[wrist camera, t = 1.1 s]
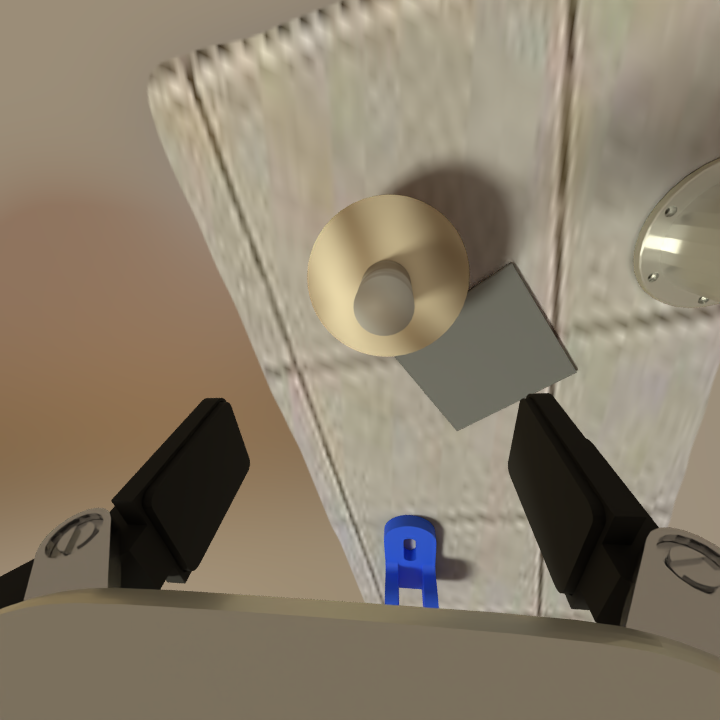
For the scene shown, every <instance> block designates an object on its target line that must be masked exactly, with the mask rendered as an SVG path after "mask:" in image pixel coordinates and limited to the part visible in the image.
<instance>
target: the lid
mask: <svg viewBox="0 0 720 720" xmlns="http://www.w3.org/2000/svg"><path fill="white" fill-rule="evenodd" d="M469 276H470V272H469V262H468V257H467V252H466V249H465V247H464V244H463V241H462V239H461V238H460V236H459V234H458V232H457V231H456V229H455V228H454V227H453V225H452V224H451V223H450V221H449V220H448V219H447V218H446V217H445V216H444V215H443V214H441V213H440V212H439V211H437V210H436V209H435V208H433V207H432V206H430V205H428V204H426V203H424V202H422V201H420V200H417V199H414V198H411V197H407V196H401V195H379V196H373V197H369V198H366V199H362V200H360V201H358V202H355V203H353V204H351V205H349V206H348V207H346V208H344V209H343V210H341V211H340V212H339V213H338V214H337V215H335V216H334V217H333V218H332V219H331V220H330V221H329V222H328V223H327V225H326V226H325V227H324V228H323V230H322V231H321V233H320V234H319V236H318V238H317V240H316V242H315V244H314V246H313V249H312V252H311V254H310V259H309V264H308V273H307V280H308V290H309V295H310V299H311V302H312V305H313V308H314V310H315V312H316V314H317V316H318V317H319V319H320V321H321V322H322V324H323V325H324V326H325V327H326V329H327V330H328V331H329V332H330V333H331V334H332V335H333V336H334V337H335V338H337V339H338V340H339V341H340V342H342V343H343V344H345V345H347V346H348V347H350V348H352V349H354V350H357V351H359V352H362V353H365V354H369V355H375V356H385V357H387V356H399V355H405V354H409V353H412V352H415V351H418V350H420V349H423V348H424V347H426V346H428V345H430V344H432V343H433V342H434V341H436V340H437V339H438V338H440V337H441V336H442V335H443V334H444V333H445V332H446V331H447V330H448V329H449V328H450V327H451V325H452V324H453V323H454V321H455V320H456V318H457V317H458V315H459V313H460V311H461V309H462V307H463V305H464V302H465V299H466V296H467V292H468V287H469Z"/></svg>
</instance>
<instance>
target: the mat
mask: <svg viewBox="0 0 720 720" xmlns="http://www.w3.org/2000/svg"><path fill="white" fill-rule="evenodd" d="M394 357H395V358H396V359H397V360H398V361H399V363H400V364H401V365H402V366H403V367H404V369H405V370H406V371H407V372H408V373H409V375H410V376H411V377H412V378H413V379H414V381H415V382H416V383H417V384H418V385H419V386H420V388H421V389H422V390H423V391H424V392H425V394H426V395H427V396H428V397H429V398H430V400H431V401H432V402H433V403H434V404H435V406H436V407H437V408H438V409H439V410H440V411H441V413H442V414H443V415H444V416H445V417H446V419H447V420H448V421H449V422H450V423H451V425H452V426H453V427H454V428H455V429H456V431H458V430H460V429H463V428H465V427H467V426H469V425H471V424H473V423H475V422H477V421H479V420H481V419H483V418H485V417H487V416H489V415H491V414H493V413H495V412H497V411H499V410H501V409H503V408H505V407H507V406H509V405H511V404H513V403H515V402H517V401H520V400H521V399H523V398H526V396H527V395H528V394H534V393H536V392H538V391H540V390H542V389H544V388H546V387H548V386H550V385H552V384H554V383H556V382H558V381H560V380H562V379H564V378H566V377H568V376H570V375H572V374H575V373H577V372H576V370H575V369H574V367H573V365H572V364H571V362H570V360H569V359H568V357H567V355H566V353H565V352H564V350H563V348H562V347H561V345H560V343H559V342H558V340H557V338H556V337H555V335H554V333H553V332H552V330H551V328H550V327H549V325H548V323H547V322H546V320H545V318H544V317H543V315H542V313H541V311H540V310H539V308H538V306H537V305H536V303H535V301H534V300H533V298H532V296H531V295H530V293H529V291H528V290H527V288H526V286H525V285H524V283H523V281H522V280H521V278H520V276H519V275H518V273H517V271H516V269H515V268H514V266H513V264H512V263H509V264H508V265H506V266H505V267H503V268H502V269H500V270H499V271H497V272H496V273H494V274H493V275H491V276H490V277H488V278H487V279H485V280H484V281H482V282H481V283H479V284H478V285H476V286H475V287H473V288H472V289H470V290H469V291H468V292H467V296H466V299H465V302H464V305H463V307H462V309H461V311H460V313H459V315H458V317H457V318H456V320H455V321H454V323H453V324H452V325H451V327H450V328H449V329H448V330H447V331H446V332H445V333H444V334H443V335H442V336H441V337H440V338H438V339H437V340H436V341H434V342H433V343H432V344H430V345H428V346H426V347H424V348H423V349H420V350H418V351H415V352H412V353H409V354H405V355H399V356H394Z"/></svg>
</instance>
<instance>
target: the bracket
mask: <svg viewBox="0 0 720 720" xmlns="http://www.w3.org/2000/svg"><path fill="white" fill-rule="evenodd" d="M405 539H414V540H415V541H416V548H415V549H412V550H408V549H406V548H404V540H405ZM384 547H385V560H386V579H385V604H386V605H399V588H412V589H422V597H423V607H427V608H439V606H438V593H437V583H436V573H435V560H436V535H435V529H434V527H433V525H432V524H431V523H430V522H429V521H427V520H426V519H424V518H421V517H418V516H413V515H402V516H398V517H395V518H392V519H391V520H389V521H388V522H387V523H386V525H385V529H384Z"/></svg>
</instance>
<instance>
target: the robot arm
mask: <svg viewBox="0 0 720 720" xmlns="http://www.w3.org/2000/svg"><path fill="white" fill-rule="evenodd" d="M633 264H634V273H635V276H636V278H637V281H638V283H639V285H640V286H641V287H642V289H643V290H644V291H645V292H646V293H647V294H648V295H650V296H651V297H652V298H654V299H656V300H658V301H661V302H663V303H665V304H668V305H672V306H675V307H683V308H700V307H706V306H711V305H716V304H720V158H719V159H717V160H715V161H712V162H710V163H708V164H706V165H704V166H702V167H701V168H699V169H698V170H696V171H695V172H693V173H691V174H690V175H688V176H687V177H686V178H684V179H683V180H682V181H681V182H679V183H678V184H677V185H676V186H675V187H673V188H672V189H671V190H670V191H669V192H668V193H667V194H666V195H665V196H664V198H663V199H662V200H661V201H660V202H659V203H658V204H657V205H656V207H655V208H654V210H653V211H652V212H651V214H650V215H649V216H648V218H647V220H646V222H645V223H644V225H643V227H642V229H641V231H640V233H639V236H638V239H637V242H636V245H635V250H634V258H633ZM249 466H250V460H249V456H248V453H247V451H246V448H245V445H244V442H243V439H242V436H241V433H240V430H239V428H238V424H237V422H236V419H235V416H234V413H233V410H232V407H231V405H230V403H228V402H226V400H225V399H223V398H206V399H204V400H203V401H202V402H201V403H200V404H199V405H198V406H197V407H196V408H195V409H194V411H193V412H192V413H191V414H190V415H189V416H188V417H187V418H186V419H185V420H184V421H183V423H181V425H180V426H179V427H178V428H177V429H176V430H175V431H174V432H173V433H172V434H171V436H170V437H169V438H168V439H167V440H166V441H165V442H164V443H163V444H162V445H161V447H160V448H159V449H158V450H157V451H156V452H155V453H154V454H153V455H152V456H151V457H150V459H149V460H148V461H147V462H146V463H145V464H144V465H143V466H142V467H141V468H140V470H139V471H138V472H137V473H136V474H135V475H134V476H133V477H132V478H131V479H130V480H129V481H128V483H127V484H126V485H125V486H124V487H123V488H122V489H121V490H120V491H119V492H118V494H117V495H116V496H115V497H114V498H113V499H112V503H113V504H114V505H115V507H114V508H113V509H112V510H111V511H110V512H109V511H108V510H106V509H104V508H94V509H89V510H86V511H83V512H80V513H78V514H76V515H74V516H72V517H70V518H68V519H67V520H65V521H64V522H63V523H61V524H60V525H58V526H57V527H56V528H55V529H54V530H52V531H51V532H50V533H49V534H48V535H47V536H46V538H45V539H44V540H43V541H42V543H41V544H40V546H39V548H38V550H37V552H36V555H35V559H33V560H31V561H29V562H27V563H25V564H23V565H21V566H20V567H18V568H16V569H14V570H12V571H10V572H8V573H6V574H4V575H3V576H1V577H0V720H720V548H719V547H718V546H716V545H715V544H713V543H711V542H709V541H707V540H705V539H704V538H702V537H700V536H698V535H695V534H692V533H690V532H687V531H684V530H680V529H675V528H670V527H668V528H659V527H658V526H657V525H656V523H655V522H654V521H653V519H652V518H651V517H650V516H649V514H648V513H647V512H646V511H645V509H644V508H643V507H642V505H641V504H640V503H639V502H638V500H637V499H636V498H635V497H634V495H633V494H632V493H631V491H630V490H629V489H628V488H627V486H626V485H625V484H624V483H623V481H622V480H621V479H620V477H619V476H618V475H617V474H616V472H615V471H614V470H613V469H612V467H611V466H610V465H609V464H608V462H607V461H606V460H605V458H604V457H603V456H602V455H601V453H600V452H599V451H598V450H597V448H596V447H595V446H594V444H593V443H592V442H591V441H590V440H588V439H586V438H585V437H584V436H583V434H582V433H581V432H580V430H579V429H578V428H577V427H576V425H575V424H574V423H573V421H572V420H571V419H570V417H569V416H568V415H567V414H566V412H565V411H564V410H563V408H562V407H561V406H560V405H559V403H558V402H557V401H556V399H555V398H554V397H553V396H552V395H551V394H549V393H535V394H528V395H527V396H526V398H523V399H521V400H520V404H519V409H518V414H517V419H516V424H515V430H514V435H513V440H512V445H511V450H510V455H509V461H508V470H509V474H510V477H511V479H512V482H513V484H514V487H515V489H516V492H517V494H518V496H519V499H520V501H521V504H522V506H523V509H524V511H525V514H526V516H527V518H528V521H529V523H530V526H531V528H532V531H533V533H534V536H535V538H536V541H537V543H538V545H539V548H540V550H541V553H542V555H543V558H544V560H545V563H546V565H547V568H548V570H549V572H550V575H551V577H552V580H553V582H554V585H555V587H556V589H557V590H558V592H560V593H565V595H566V597H567V600H568V602H569V605H570V607H571V609H581V610H590V612H591V614H592V616H593V618H594V620H595V622H597V623H594V622H587V621H580V620H570V619H559V618H549V617H538V616H527V615H516V614H506V613H494V612H480V611H467V610H454V609H440V608H427V607H413V606H400V605H386V604H372V603H357V602H343V601H329V600H315V599H300V598H285V597H270V596H255V595H238V594H224V593H208V592H192V591H175V590H161V587H162V585H163V584H164V582H165V580H166V581H167V582H172V583H186V581H187V579H188V577H189V575H190V573H191V572H192V571H194V570H195V569H196V568H197V567H198V566H199V564H200V562H201V560H202V558H203V557H204V555H205V553H206V551H207V549H208V547H209V545H210V543H211V541H212V539H213V537H214V536H215V534H216V532H217V530H218V528H219V526H220V524H221V522H222V520H223V518H224V516H225V514H226V512H227V511H228V509H229V507H230V505H231V503H232V501H233V499H234V497H235V495H236V493H237V491H238V489H239V488H240V485H241V484H242V482H243V480H244V478H245V476H246V474H247V472H248V470H249Z"/></svg>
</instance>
